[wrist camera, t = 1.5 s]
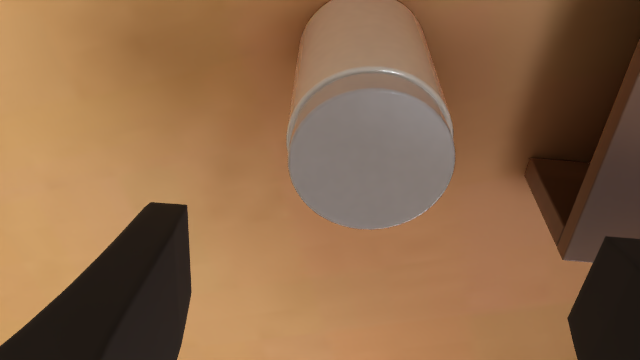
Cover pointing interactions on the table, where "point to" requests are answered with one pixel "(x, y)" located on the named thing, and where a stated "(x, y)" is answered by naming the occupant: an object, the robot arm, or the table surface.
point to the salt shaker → (368, 117)
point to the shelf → (595, 182)
